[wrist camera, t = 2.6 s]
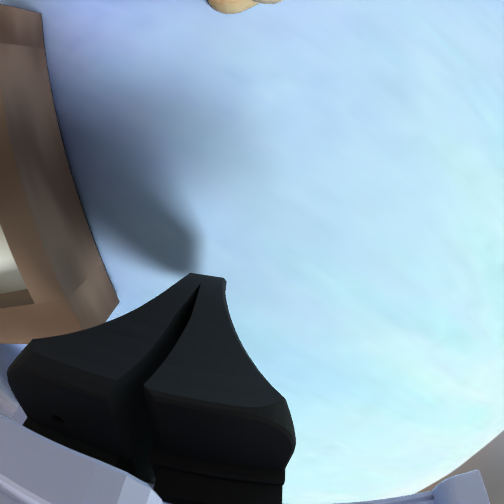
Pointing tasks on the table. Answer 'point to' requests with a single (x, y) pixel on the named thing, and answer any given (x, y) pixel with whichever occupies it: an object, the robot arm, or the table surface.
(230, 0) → the grandmother figurine
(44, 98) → the picture frame
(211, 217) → the table surface
